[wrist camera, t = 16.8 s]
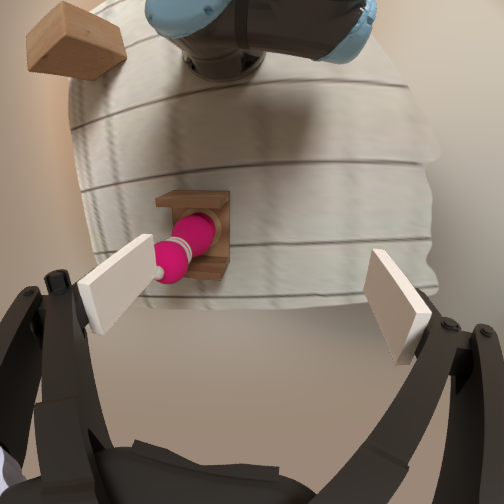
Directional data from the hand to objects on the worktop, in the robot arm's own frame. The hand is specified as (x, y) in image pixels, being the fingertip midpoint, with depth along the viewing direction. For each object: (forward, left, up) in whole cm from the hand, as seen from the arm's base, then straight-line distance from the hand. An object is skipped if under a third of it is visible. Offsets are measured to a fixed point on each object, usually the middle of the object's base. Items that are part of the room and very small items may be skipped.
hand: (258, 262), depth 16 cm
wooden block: (-30, -37, -35) cm, 59 cm away
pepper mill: (+9, -14, -34) cm, 37 cm away
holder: (+9, -14, -35) cm, 38 cm away
